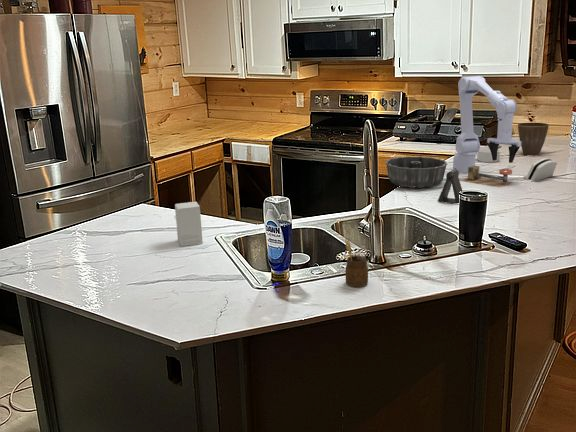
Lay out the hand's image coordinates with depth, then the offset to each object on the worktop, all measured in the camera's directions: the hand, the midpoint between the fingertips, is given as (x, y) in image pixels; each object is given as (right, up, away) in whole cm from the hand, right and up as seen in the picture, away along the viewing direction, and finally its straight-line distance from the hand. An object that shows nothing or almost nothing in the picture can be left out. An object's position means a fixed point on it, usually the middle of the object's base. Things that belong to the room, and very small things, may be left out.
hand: (502, 161), depth 260 cm
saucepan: (+13, +5, +53) cm, 55 cm away
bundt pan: (-36, -10, +8) cm, 38 cm away
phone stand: (-28, -18, -22) cm, 39 cm away
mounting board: (-6, -9, +5) cm, 12 cm away
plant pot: (+36, +9, +61) cm, 72 cm away
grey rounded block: (+20, -7, +10) cm, 23 cm away
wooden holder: (-10, -7, +9) cm, 15 cm away
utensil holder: (-73, -41, -98) cm, 129 cm away
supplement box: (-123, -32, -60) cm, 141 cm away
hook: (-3, -8, +1) cm, 9 cm away
